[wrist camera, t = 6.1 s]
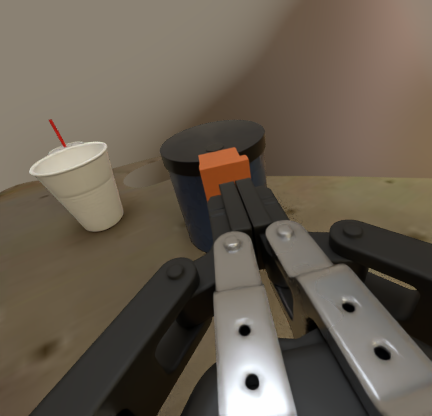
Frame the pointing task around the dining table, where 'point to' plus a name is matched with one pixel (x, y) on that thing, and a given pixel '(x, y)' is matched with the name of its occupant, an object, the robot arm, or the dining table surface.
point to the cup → (82, 184)
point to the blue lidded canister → (190, 174)
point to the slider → (222, 169)
